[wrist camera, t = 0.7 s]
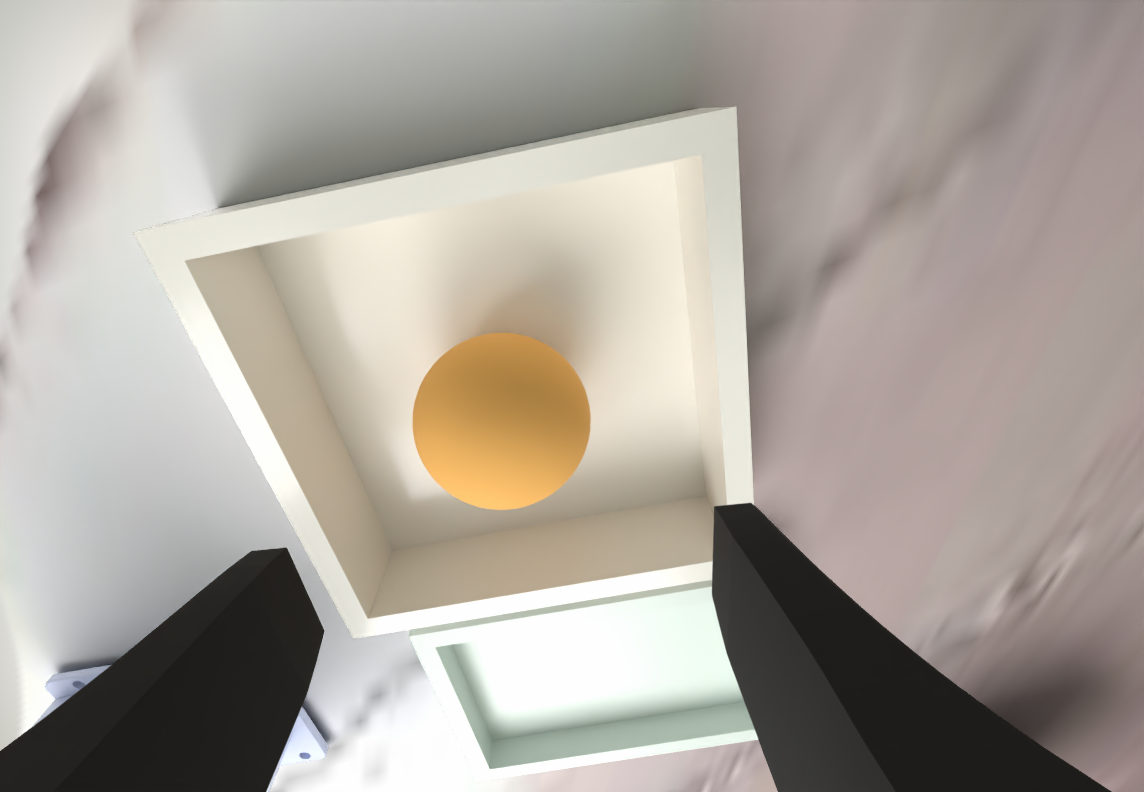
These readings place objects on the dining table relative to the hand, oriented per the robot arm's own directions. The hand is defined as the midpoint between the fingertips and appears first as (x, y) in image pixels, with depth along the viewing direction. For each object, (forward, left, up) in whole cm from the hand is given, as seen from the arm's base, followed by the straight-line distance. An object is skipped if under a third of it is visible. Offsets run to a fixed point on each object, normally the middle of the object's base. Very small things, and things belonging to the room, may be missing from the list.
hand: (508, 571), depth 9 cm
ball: (-1, -1, -7) cm, 7 cm away
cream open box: (-1, -1, -10) cm, 10 cm away
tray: (0, -15, -10) cm, 18 cm away
